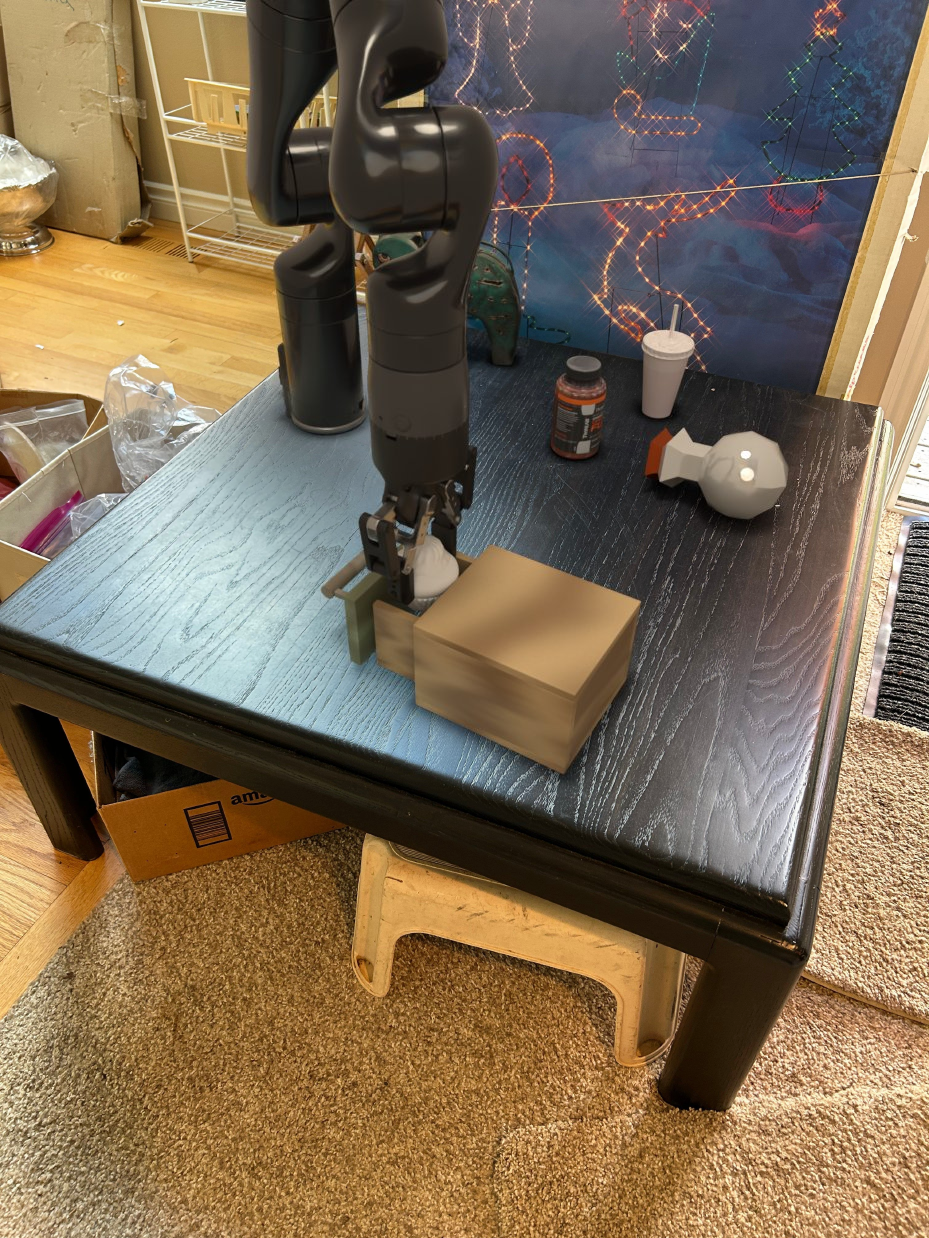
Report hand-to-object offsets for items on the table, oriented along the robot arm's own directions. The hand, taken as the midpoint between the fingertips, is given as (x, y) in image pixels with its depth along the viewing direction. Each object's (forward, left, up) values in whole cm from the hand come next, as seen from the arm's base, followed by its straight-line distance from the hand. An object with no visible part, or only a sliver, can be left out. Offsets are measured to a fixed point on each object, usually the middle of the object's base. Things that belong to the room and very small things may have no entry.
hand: (423, 577), depth 79 cm
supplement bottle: (-3, +39, -9) cm, 40 cm away
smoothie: (+2, +53, -9) cm, 54 cm away
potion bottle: (+15, +37, -9) cm, 41 cm away
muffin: (0, 0, -3) cm, 3 cm away
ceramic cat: (-30, +52, -9) cm, 60 cm away
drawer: (0, 0, -8) cm, 8 cm away
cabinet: (+11, 0, -9) cm, 14 cm away
